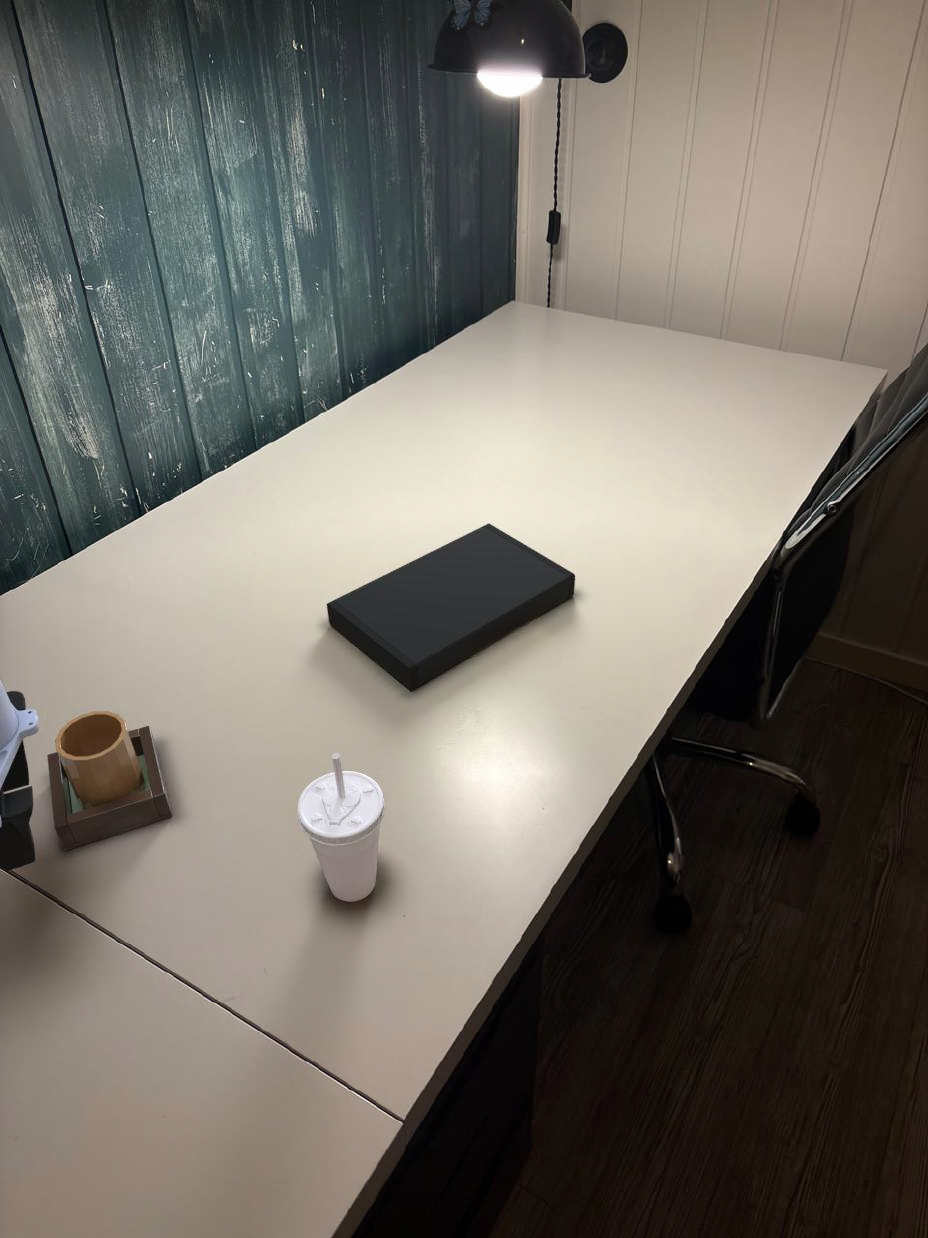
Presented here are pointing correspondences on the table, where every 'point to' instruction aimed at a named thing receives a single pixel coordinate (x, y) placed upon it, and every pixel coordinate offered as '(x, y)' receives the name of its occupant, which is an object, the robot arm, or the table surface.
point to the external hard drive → (449, 604)
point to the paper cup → (99, 758)
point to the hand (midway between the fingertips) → (17, 823)
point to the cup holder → (114, 815)
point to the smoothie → (344, 829)
